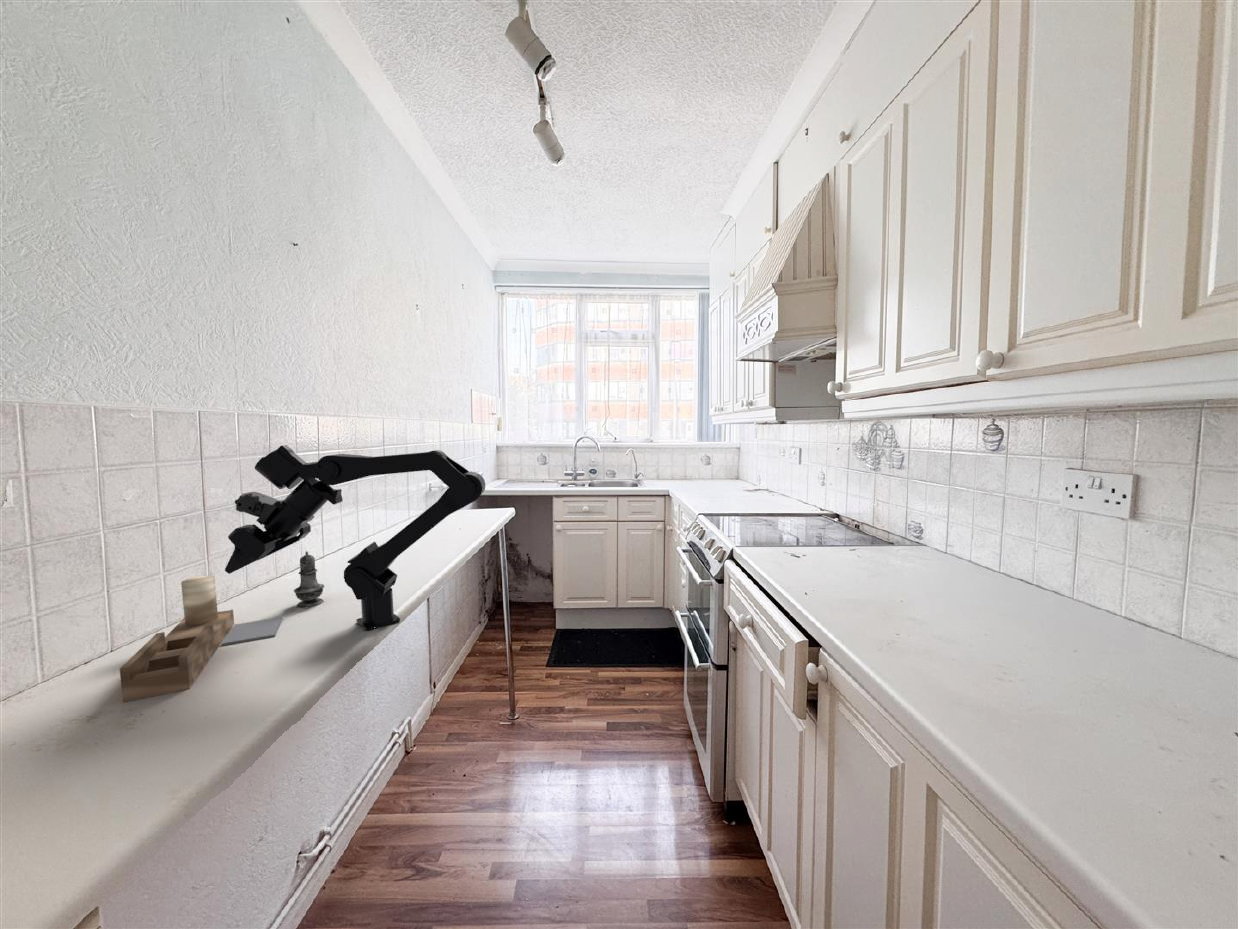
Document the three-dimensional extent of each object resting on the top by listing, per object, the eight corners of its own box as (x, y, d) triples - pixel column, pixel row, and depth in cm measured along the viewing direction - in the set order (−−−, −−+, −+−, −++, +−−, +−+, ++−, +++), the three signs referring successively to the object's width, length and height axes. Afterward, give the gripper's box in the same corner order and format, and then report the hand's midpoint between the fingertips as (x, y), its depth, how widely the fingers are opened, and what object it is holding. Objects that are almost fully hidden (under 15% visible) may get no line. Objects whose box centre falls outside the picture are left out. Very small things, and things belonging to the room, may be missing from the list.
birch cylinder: (219, 620, 93) (215, 579, 92) (185, 627, 90) (182, 585, 89) (216, 613, 96) (213, 574, 96) (184, 620, 93) (180, 579, 92)
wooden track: (186, 632, 95) (184, 607, 95) (234, 624, 99) (232, 600, 98) (122, 702, 70) (119, 668, 70) (189, 688, 74) (186, 656, 73)
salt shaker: (331, 599, 113) (328, 548, 112) (313, 608, 107) (309, 554, 106) (307, 598, 113) (304, 547, 112) (288, 608, 107) (284, 554, 106)
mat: (234, 626, 98) (234, 624, 98) (283, 618, 101) (282, 616, 101) (221, 645, 89) (221, 643, 89) (275, 636, 92) (274, 634, 92)
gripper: (290, 473, 102) (236, 527, 101) (236, 482, 84) (169, 549, 83) (333, 508, 104) (280, 562, 103) (289, 525, 86) (225, 591, 85)
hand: (242, 565), depth 94 cm, fingers open, 9 cm apart
